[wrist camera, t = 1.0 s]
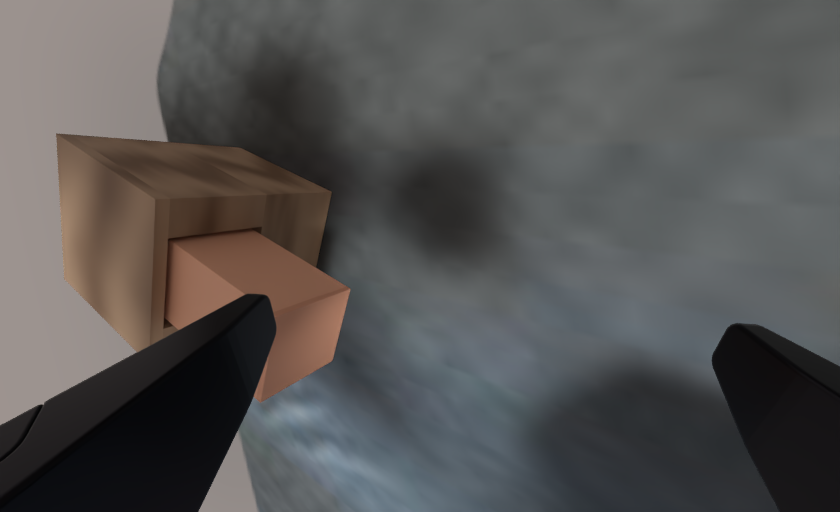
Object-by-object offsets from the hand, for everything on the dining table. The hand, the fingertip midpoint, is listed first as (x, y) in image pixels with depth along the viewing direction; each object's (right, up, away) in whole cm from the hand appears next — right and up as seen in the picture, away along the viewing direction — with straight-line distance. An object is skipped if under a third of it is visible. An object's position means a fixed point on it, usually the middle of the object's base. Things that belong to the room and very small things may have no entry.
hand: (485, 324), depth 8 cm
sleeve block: (-13, +4, +22) cm, 25 cm away
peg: (-10, 0, +14) cm, 17 cm away
